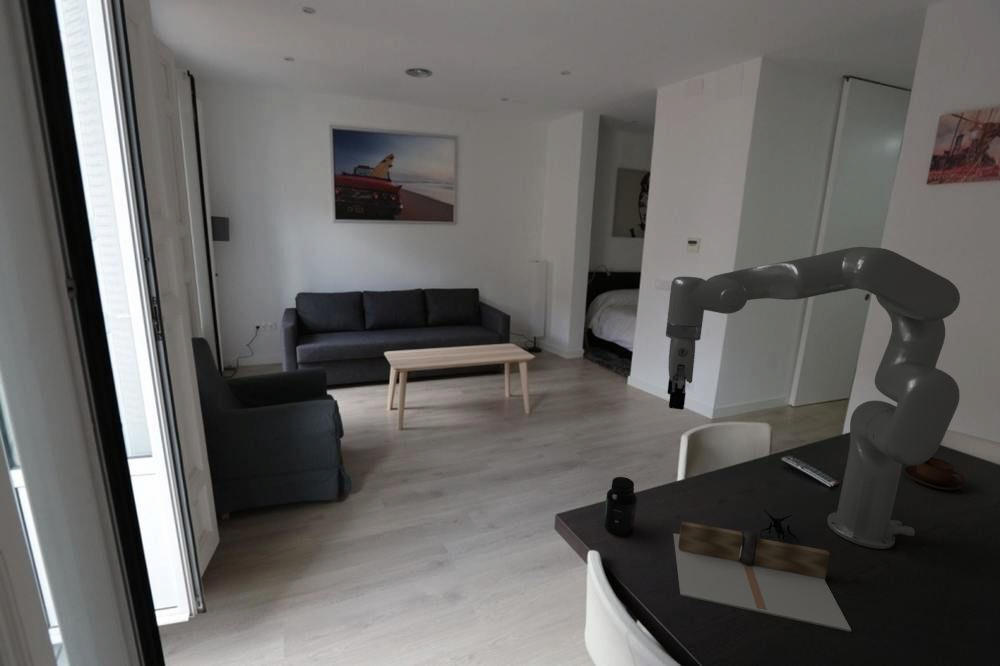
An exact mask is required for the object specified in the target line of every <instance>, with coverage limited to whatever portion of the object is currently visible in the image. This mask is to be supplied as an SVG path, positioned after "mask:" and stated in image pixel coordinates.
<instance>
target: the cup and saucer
mask: <svg viewBox="0 0 1000 666" xmlns="http://www.w3.org/2000/svg"><path fill="white" fill-rule="evenodd" d="M954 469H955V466H954V465H953V464H951V463H950V462H948V461H945V460H943V459H940V458H936V457H933V456H932V457H931V458H930V459H928V460H927V461H925V462H923V463H921V464H918V465H907V466H906V467H905V468H904V472H905V474H906V475H907V477H908V478H910V479H912V480H913V481H915V482H916V483H918V484H921V485H924V486H926V487H929V488H933V489H937V490H944V491H954V490H959V489H961V487H962V486H963V484H962V483H964V482H965V478H966V477H965V476H964V475H963V474H962V473H961V472H959V471H954ZM953 475H958V476H959V477H960V480H959V478H957V477H955V476H953Z"/></svg>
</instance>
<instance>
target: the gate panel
mask: <svg viewBox="0 0 1000 666" xmlns="http://www.w3.org/2000/svg"><path fill="white" fill-rule="evenodd" d="M679 534H680V536H679V544H678V547H679V549H680V550H685V551H690V552H696V553H701V554H706V555H711V556H717V557H722V558H727V559H732V560H738V561H739V556H740V549H741V546H742V543H743V536H744V534H743V533H742V531H737V530H732V529H727V528H720V527H715V526H710V525H704V524H699V523H698V524H697V523H692V522H688V521H683V520H682V521H681V522H680V529H679Z"/></svg>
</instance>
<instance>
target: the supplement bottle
mask: <svg viewBox="0 0 1000 666" xmlns="http://www.w3.org/2000/svg"><path fill="white" fill-rule="evenodd" d="M605 500H606V501H605V512H604V522H603V523H604V528H605V530H606V531H607V533H608V534H610V535H612V536H615V537H617V538H628V537H630V536H632V535H633V534H634V532H635V528H636V522H637V521H636V519H637V510H638V508H637V507H638V496H637V494H636V493H635V483H634V481H633V480H632V479H631V478H629V477H625V476H617V477H613V479H612V481H611V488H610V489H609V490H607V492H606V497H605Z"/></svg>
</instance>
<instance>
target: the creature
mask: <svg viewBox="0 0 1000 666" xmlns="http://www.w3.org/2000/svg"><path fill="white" fill-rule="evenodd" d="M762 510H763V511H764V512H765V513H766V514H767V515H768V517H769V518H770V519H771V521H770V523H769V526H768V527H766V528H764V529H762V530H761V531H760V533H759V535H760V537H761V539H764V537H763V536H762V533H763V532H764V531H768V530H769V531H768V533H767V534H769V535H770V533H771V530H772V528H774V530H775V533H776V534H778V535H777V538H778V540H779V541H781V538H780V537H781V535H782V540H783V542H789V544H793V542H791V541H789V540H787V538H788V536H787V535H785V529H784V528H783V525H782V524H783V521H784V520H786V519H788V518H790V517H792V516H793V514H791V515H789V516H785V517H782V518H779V517H777V518H775V517H773V516H772V515H771V514H770V513H769V512H768V511H767V510H765V509H764V508H763V509H762ZM790 527H791V525H789V524H788V525H787V526H786V529H787V532H788V534H789V535H791V536H792V537H794V538H795V539H796V540H797V544H796V545H799V544H800V543H799V542H800V541H799V539H798V537H796V536H795V535H794V534H793V532H791V531H790ZM785 537H786V539H785ZM769 538H770V539H771V538H773V536H769V537H766V538H765V540H769Z"/></svg>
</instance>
